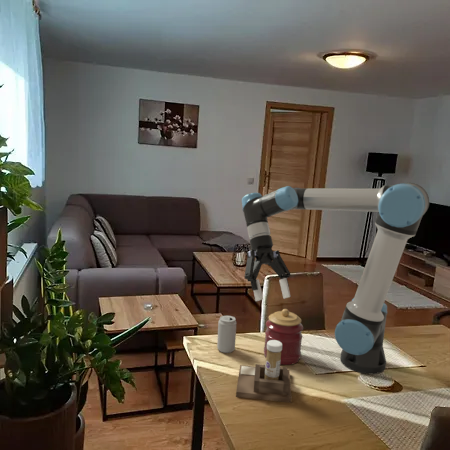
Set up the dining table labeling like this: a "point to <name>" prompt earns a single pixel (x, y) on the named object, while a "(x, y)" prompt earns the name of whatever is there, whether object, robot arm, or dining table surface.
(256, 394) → the spice caddy
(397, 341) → the dining table surface
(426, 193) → the robot arm
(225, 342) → the beverage can
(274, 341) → the sprinkles bottle
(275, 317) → the canister
